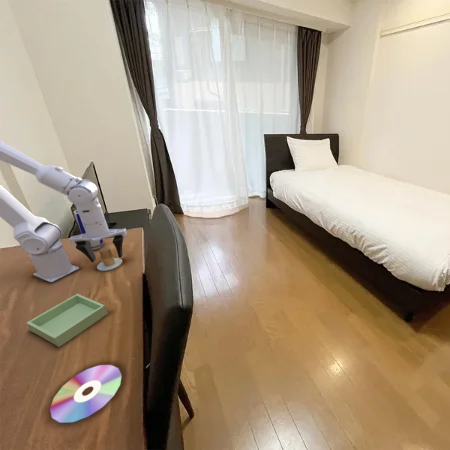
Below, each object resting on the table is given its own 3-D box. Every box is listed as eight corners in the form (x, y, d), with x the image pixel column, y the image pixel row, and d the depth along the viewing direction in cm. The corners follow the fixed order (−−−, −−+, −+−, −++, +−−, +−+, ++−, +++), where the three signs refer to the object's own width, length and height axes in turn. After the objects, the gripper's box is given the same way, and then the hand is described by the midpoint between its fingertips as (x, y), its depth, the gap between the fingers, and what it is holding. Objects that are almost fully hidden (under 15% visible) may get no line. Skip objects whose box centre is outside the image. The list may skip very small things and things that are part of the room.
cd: (106, 355, 59) (106, 355, 59) (132, 383, 53) (132, 383, 53) (40, 399, 51) (40, 398, 51) (63, 437, 45) (63, 437, 45)
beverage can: (96, 251, 97) (81, 213, 91) (84, 249, 98) (69, 211, 91) (108, 244, 102) (94, 207, 95) (96, 243, 103) (82, 206, 96)
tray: (31, 331, 65) (26, 322, 64) (81, 301, 74) (77, 293, 73) (59, 347, 61) (54, 338, 60) (108, 313, 70) (104, 305, 69)
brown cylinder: (102, 264, 89) (96, 250, 87) (111, 260, 91) (106, 246, 89) (108, 267, 88) (103, 252, 85) (117, 262, 90) (112, 248, 88)
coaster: (92, 267, 88) (91, 266, 88) (113, 257, 94) (112, 256, 94) (106, 273, 86) (106, 271, 85) (127, 261, 91) (126, 260, 91)
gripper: (59, 230, 77) (77, 269, 83) (118, 222, 82) (130, 260, 88) (68, 220, 83) (83, 257, 89) (122, 213, 88) (134, 249, 94)
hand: (107, 258), depth 89 cm, fingers open, 7 cm apart
